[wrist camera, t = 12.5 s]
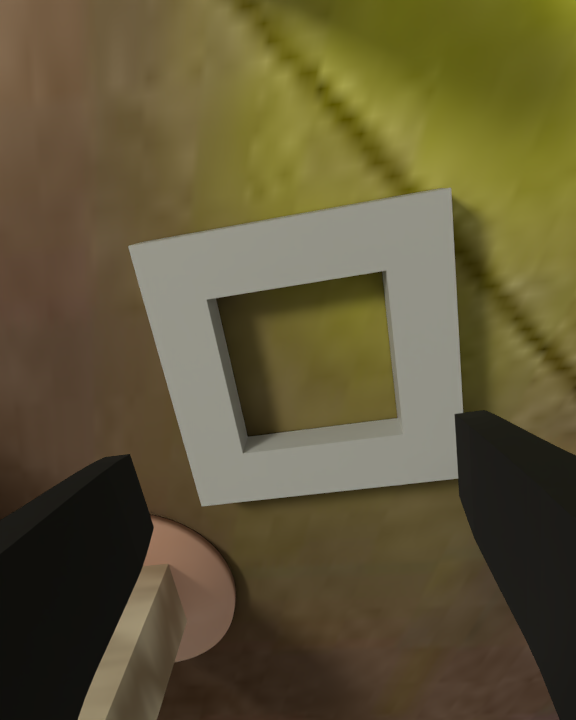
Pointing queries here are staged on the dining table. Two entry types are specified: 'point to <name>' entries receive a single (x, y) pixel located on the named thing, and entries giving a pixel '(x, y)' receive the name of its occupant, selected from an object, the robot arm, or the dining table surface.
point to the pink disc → (195, 583)
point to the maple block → (139, 652)
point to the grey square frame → (294, 267)
